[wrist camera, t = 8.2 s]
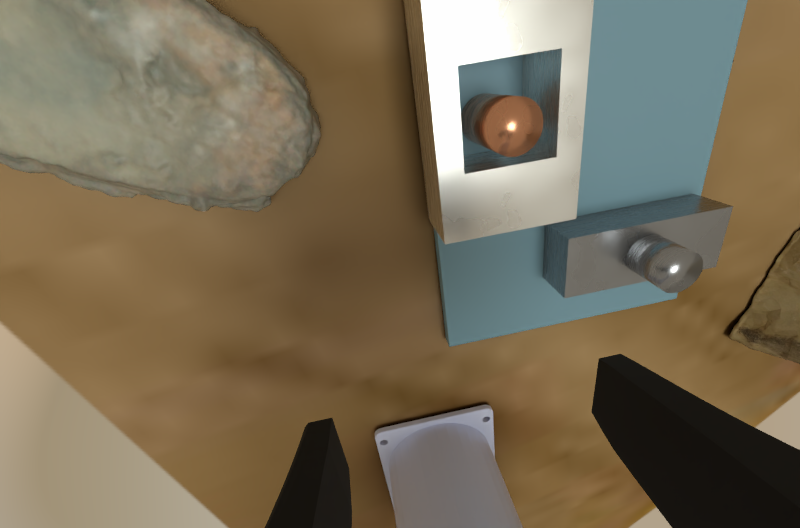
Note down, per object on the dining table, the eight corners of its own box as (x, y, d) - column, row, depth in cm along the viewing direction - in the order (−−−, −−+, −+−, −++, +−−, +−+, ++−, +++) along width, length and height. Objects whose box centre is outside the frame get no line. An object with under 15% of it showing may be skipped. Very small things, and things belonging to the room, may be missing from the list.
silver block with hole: (548, -32, 14) (598, -60, 11) (541, 198, 18) (576, 218, 15) (402, -10, 13) (417, -33, 11) (429, 219, 18) (444, 244, 15)
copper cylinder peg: (505, 139, 16) (542, 151, 13) (461, 146, 16) (489, 161, 13) (504, 89, 15) (544, 91, 12) (458, 97, 15) (487, 101, 12)
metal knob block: (668, 243, 21) (755, 286, 17) (535, 270, 21) (588, 322, 16) (680, 189, 20) (778, 220, 15) (537, 217, 19) (596, 258, 15)
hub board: (665, 291, 23) (676, 298, 22) (446, 338, 22) (449, 346, 21) (737, -31, 15) (756, -36, 15) (410, 21, 15) (414, 17, 14)
